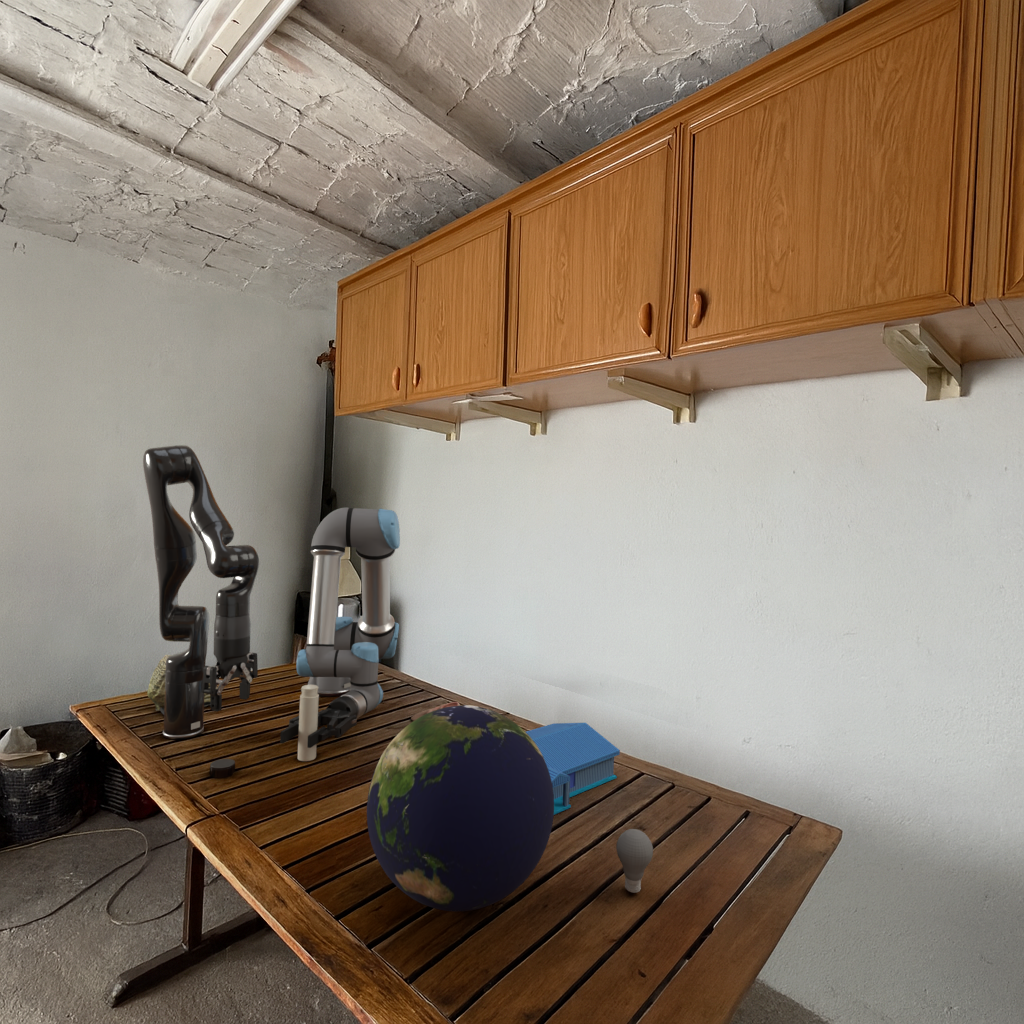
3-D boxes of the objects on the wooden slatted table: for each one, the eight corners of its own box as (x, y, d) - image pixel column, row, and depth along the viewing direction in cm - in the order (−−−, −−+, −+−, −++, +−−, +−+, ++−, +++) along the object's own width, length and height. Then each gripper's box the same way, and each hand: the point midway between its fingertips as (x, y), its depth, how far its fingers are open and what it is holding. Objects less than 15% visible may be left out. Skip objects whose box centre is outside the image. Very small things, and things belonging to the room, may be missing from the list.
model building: (501, 837, 120) (504, 785, 120) (427, 790, 139) (429, 744, 138) (628, 782, 147) (630, 739, 147) (552, 748, 165) (553, 710, 165)
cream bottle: (295, 761, 151) (298, 689, 150) (298, 754, 155) (301, 684, 155) (314, 761, 151) (317, 689, 151) (317, 753, 156) (320, 684, 155)
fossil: (144, 707, 182) (145, 655, 182) (212, 696, 194) (213, 647, 194) (151, 716, 175) (153, 662, 175) (221, 703, 188) (223, 653, 188)
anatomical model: (407, 708, 179) (421, 696, 191) (406, 722, 179) (420, 709, 191) (452, 713, 177) (463, 701, 188) (451, 727, 177) (463, 714, 188)
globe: (322, 922, 94) (330, 722, 94) (423, 829, 122) (430, 674, 122) (507, 988, 83) (517, 762, 83) (572, 869, 111) (580, 699, 110)
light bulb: (610, 879, 108) (613, 822, 108) (644, 879, 109) (647, 822, 109) (619, 902, 102) (622, 840, 102) (655, 901, 103) (658, 840, 103)
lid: (239, 773, 143) (239, 763, 143) (217, 780, 139) (217, 770, 139) (227, 766, 146) (227, 756, 146) (204, 773, 142) (205, 763, 142)
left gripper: (221, 643, 135) (220, 718, 135) (267, 629, 148) (266, 697, 149) (194, 638, 137) (192, 712, 138) (241, 625, 150) (240, 692, 151)
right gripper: (378, 728, 168) (331, 761, 146) (313, 718, 173) (258, 749, 151) (379, 700, 168) (333, 729, 145) (314, 691, 173) (259, 718, 151)
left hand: (230, 704), depth 143 cm, fingers open, 8 cm apart
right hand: (295, 739), depth 148 cm, fingers open, 7 cm apart
